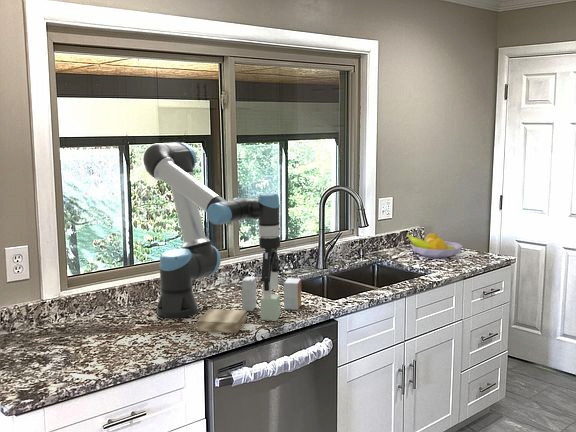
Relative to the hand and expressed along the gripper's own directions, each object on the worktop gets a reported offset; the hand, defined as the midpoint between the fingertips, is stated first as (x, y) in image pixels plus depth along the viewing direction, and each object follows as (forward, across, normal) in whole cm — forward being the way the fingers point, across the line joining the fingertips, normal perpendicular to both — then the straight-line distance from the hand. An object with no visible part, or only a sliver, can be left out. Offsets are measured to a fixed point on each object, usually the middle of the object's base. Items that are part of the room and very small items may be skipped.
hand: (271, 294), depth 221 cm
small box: (+9, +14, -6) cm, 18 cm away
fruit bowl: (+9, +117, -66) cm, 135 cm away
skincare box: (+9, +9, +10) cm, 17 cm away
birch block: (+9, -11, +16) cm, 21 cm away
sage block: (+9, 0, 0) cm, 9 cm away
